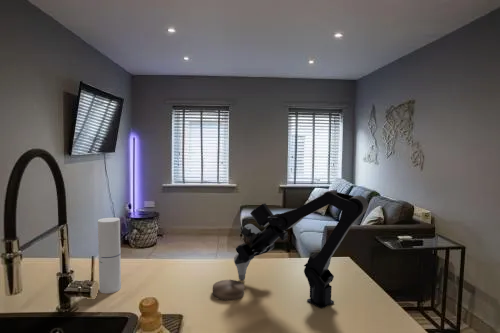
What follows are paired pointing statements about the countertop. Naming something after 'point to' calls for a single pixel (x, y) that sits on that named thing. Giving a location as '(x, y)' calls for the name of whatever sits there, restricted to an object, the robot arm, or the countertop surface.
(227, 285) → the walnut base
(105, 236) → the cylindrical container
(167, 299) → the countertop surface
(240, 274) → the lightbulb
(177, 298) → the countertop surface
